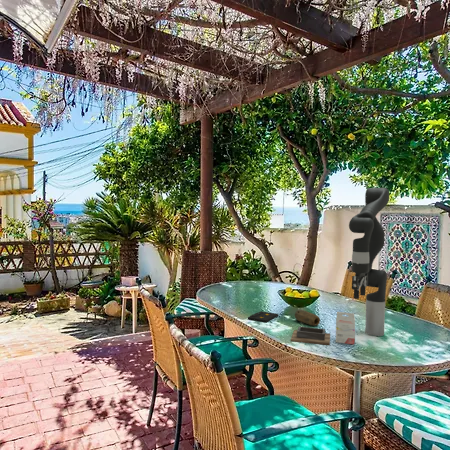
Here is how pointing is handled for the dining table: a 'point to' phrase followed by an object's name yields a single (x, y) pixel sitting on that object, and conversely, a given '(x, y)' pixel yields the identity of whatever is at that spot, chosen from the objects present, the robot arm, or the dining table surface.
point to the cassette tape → (263, 316)
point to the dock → (311, 336)
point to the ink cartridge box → (345, 328)
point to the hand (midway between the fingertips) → (359, 297)
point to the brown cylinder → (307, 317)
